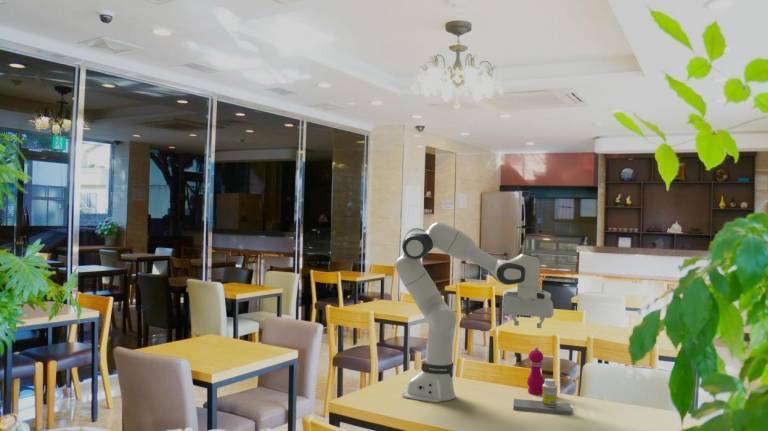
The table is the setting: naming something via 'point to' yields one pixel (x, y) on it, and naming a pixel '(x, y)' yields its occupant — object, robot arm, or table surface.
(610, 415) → the table surface
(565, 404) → the slate board
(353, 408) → the table surface
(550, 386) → the supplement bottle
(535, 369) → the pepper mill
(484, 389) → the table surface
